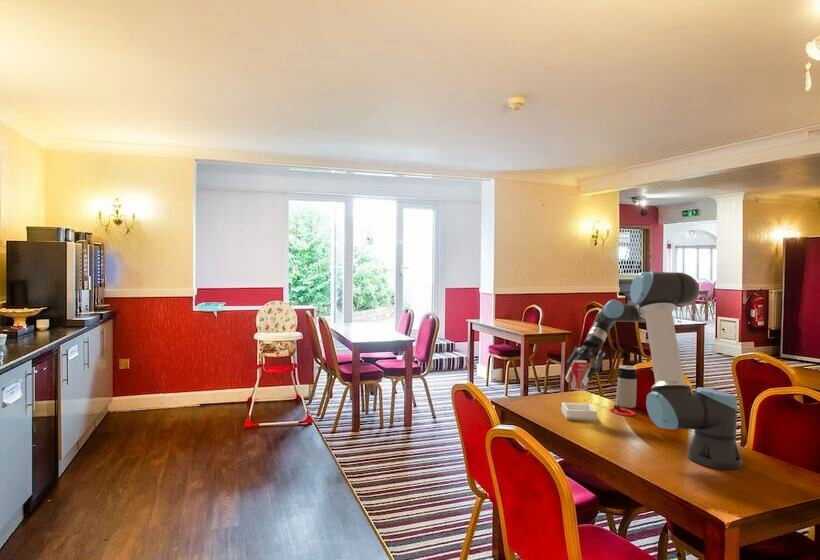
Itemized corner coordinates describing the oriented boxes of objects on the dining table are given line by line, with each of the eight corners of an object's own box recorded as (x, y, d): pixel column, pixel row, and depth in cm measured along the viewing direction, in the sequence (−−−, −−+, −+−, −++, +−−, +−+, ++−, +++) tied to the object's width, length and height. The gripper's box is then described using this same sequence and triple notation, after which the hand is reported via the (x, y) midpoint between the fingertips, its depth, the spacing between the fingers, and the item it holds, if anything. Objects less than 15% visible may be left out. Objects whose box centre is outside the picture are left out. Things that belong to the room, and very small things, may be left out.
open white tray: (596, 421, 206) (597, 411, 206) (566, 419, 207) (566, 410, 207) (589, 413, 218) (590, 403, 218) (561, 411, 219) (561, 402, 219)
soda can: (573, 386, 217) (574, 358, 217) (590, 389, 213) (591, 360, 213) (568, 389, 212) (569, 361, 211) (585, 392, 208) (586, 363, 207)
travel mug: (636, 409, 226) (638, 369, 226) (617, 407, 229) (619, 367, 229) (634, 404, 234) (636, 366, 234) (616, 402, 236) (617, 364, 236)
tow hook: (639, 416, 217) (621, 409, 225) (641, 386, 216) (623, 381, 224) (626, 418, 213) (608, 411, 221) (628, 388, 212) (610, 382, 220)
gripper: (571, 331, 226) (551, 372, 215) (614, 336, 212) (595, 380, 201) (576, 342, 230) (557, 382, 219) (619, 348, 215) (601, 391, 205)
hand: (575, 381), depth 210 cm, fingers closed on soda can, 7 cm apart
